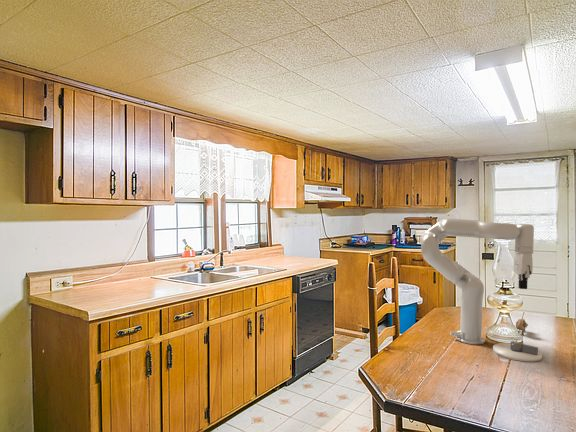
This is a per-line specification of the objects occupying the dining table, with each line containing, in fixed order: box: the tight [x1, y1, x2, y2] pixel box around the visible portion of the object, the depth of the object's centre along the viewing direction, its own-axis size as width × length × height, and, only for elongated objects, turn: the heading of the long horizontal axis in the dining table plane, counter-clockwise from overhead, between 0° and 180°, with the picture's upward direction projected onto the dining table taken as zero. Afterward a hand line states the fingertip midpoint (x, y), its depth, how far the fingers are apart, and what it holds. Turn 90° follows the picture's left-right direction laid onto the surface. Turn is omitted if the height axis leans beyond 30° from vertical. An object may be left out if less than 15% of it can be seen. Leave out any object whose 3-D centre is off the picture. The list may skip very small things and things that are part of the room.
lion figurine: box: [515, 318, 529, 336], centre depth 208 cm, size 15×5×9 cm, turn 154°
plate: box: [492, 342, 543, 363], centre depth 178 cm, size 19×19×2 cm
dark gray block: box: [510, 340, 539, 355], centre depth 176 cm, size 10×5×3 cm, turn 45°
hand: (522, 288), depth 189 cm, fingers closed
